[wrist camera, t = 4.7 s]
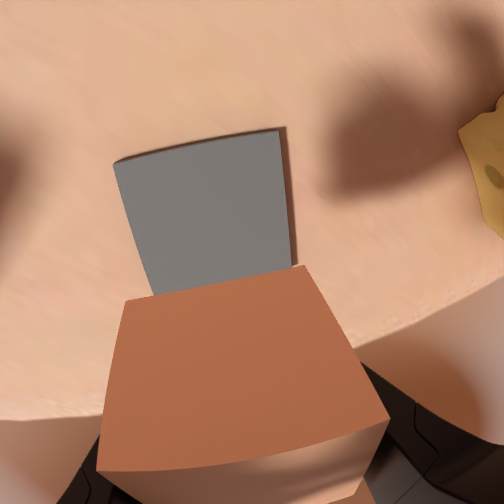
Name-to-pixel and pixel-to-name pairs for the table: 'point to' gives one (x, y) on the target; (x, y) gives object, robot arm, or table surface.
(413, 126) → the table surface
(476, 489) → the robot arm
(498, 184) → the cheese
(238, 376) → the cube
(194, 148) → the coaster
